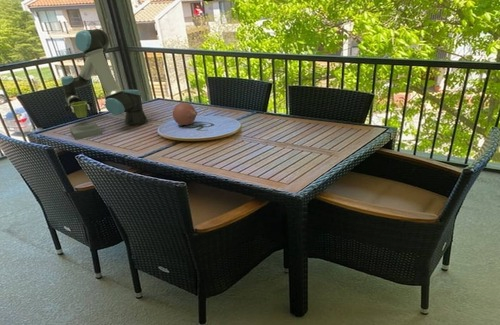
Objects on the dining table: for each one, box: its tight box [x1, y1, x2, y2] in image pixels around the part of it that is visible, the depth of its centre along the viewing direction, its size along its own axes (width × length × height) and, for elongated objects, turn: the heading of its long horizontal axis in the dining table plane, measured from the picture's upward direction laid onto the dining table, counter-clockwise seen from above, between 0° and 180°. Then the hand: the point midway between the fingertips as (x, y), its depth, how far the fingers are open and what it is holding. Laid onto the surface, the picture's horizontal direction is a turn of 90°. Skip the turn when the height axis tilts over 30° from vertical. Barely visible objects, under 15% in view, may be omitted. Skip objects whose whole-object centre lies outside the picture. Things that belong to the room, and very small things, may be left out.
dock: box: [69, 122, 102, 141], centre depth 228 cm, size 16×14×4 cm
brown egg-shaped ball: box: [172, 102, 198, 126], centre depth 233 cm, size 15×20×15 cm
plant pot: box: [71, 101, 88, 119], centre depth 222 cm, size 9×9×9 cm
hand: (81, 109), depth 218 cm, fingers closed on plant pot, 8 cm apart
